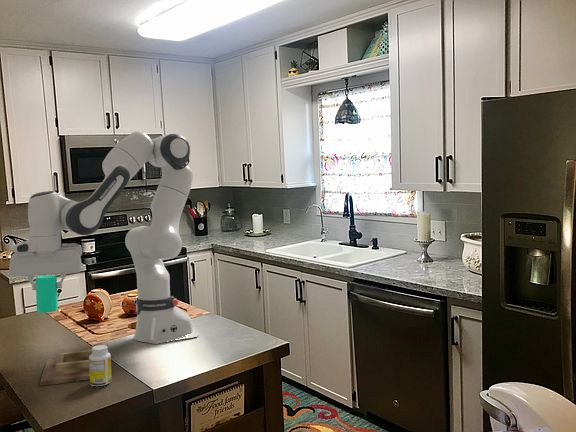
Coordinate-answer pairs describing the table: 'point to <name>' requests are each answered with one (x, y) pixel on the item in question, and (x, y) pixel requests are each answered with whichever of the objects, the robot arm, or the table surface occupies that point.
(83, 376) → the candle holder
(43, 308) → the candle
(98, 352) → the supplement bottle
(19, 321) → the table surface
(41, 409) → the table surface
